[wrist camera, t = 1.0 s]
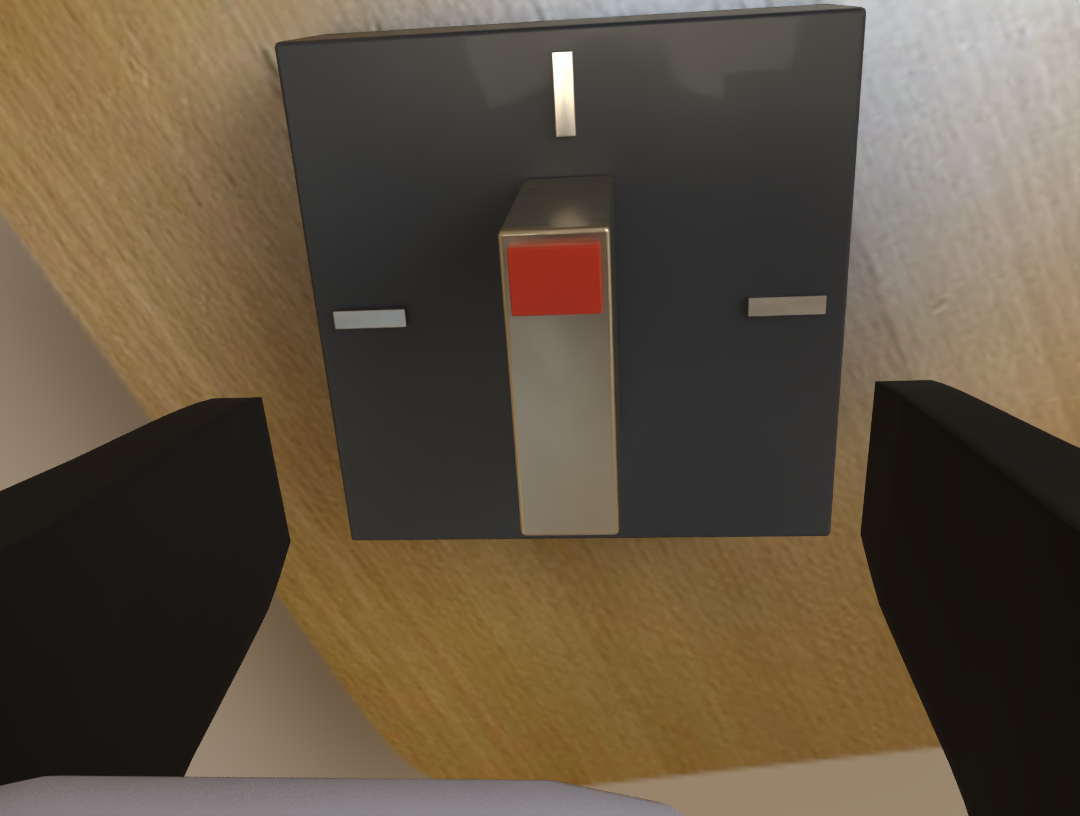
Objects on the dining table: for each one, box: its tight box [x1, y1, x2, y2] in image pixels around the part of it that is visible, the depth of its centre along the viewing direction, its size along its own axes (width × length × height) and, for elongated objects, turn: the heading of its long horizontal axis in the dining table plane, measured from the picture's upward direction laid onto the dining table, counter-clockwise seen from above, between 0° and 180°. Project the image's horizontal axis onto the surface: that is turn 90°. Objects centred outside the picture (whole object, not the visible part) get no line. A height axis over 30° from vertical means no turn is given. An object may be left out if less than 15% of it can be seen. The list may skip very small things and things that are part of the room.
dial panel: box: [275, 4, 866, 540], centre depth 20 cm, size 10×10×3 cm
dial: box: [498, 176, 621, 536], centre depth 16 cm, size 5×2×4 cm, turn 3°
